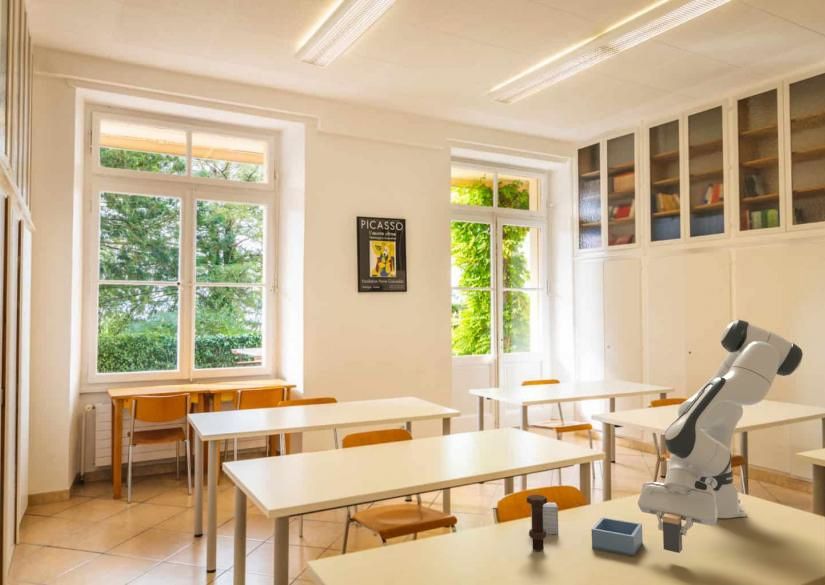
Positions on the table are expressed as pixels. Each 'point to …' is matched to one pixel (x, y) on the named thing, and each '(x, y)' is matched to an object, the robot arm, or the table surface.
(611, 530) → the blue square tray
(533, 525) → the bolt
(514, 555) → the table surface
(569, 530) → the table surface
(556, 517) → the medicine box
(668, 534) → the block
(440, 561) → the table surface
